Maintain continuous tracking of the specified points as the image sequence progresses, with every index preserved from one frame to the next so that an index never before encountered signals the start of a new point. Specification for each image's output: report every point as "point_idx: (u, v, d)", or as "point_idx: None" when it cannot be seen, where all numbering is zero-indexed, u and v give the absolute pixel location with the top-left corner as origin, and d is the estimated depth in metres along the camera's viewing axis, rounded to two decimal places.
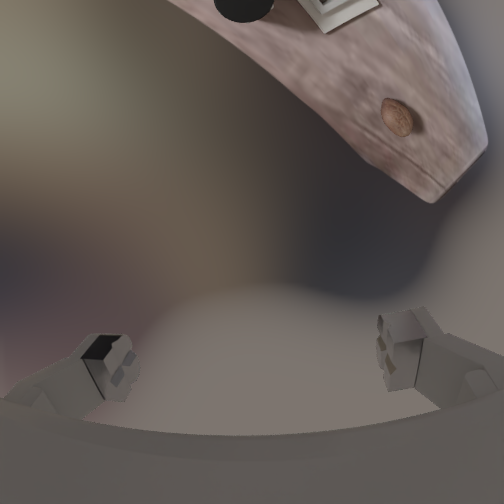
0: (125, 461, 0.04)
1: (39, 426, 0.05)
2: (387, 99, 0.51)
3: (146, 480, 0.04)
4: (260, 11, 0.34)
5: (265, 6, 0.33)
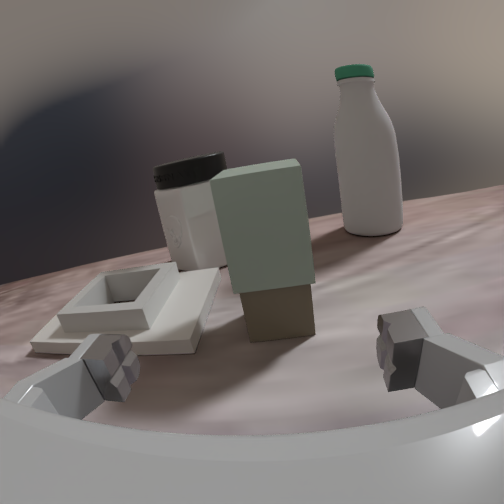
0: (125, 461, 0.04)
1: (38, 426, 0.05)
2: None
3: (146, 480, 0.04)
4: (161, 164, 0.34)
5: (159, 165, 0.33)
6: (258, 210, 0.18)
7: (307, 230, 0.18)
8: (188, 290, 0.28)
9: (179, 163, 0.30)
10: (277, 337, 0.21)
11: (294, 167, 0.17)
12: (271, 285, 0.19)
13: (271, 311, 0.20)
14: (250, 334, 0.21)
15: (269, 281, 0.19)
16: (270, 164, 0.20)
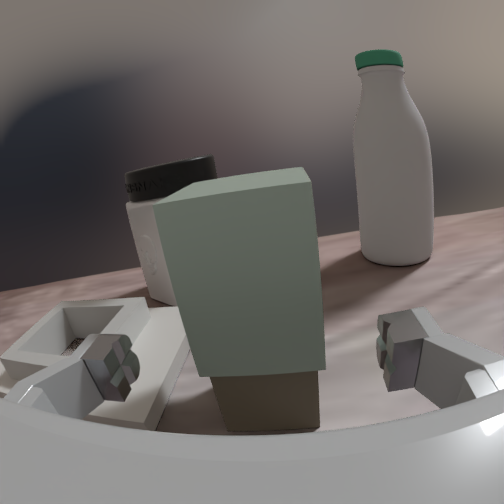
0: (125, 461, 0.04)
1: (39, 426, 0.05)
2: None
3: (146, 480, 0.04)
4: (135, 170, 0.27)
5: None
6: (235, 259, 0.10)
7: (318, 293, 0.10)
8: (156, 338, 0.20)
9: (153, 169, 0.23)
10: (265, 428, 0.13)
11: (300, 185, 0.09)
12: (256, 370, 0.12)
13: (256, 399, 0.13)
14: (227, 422, 0.13)
15: (253, 365, 0.12)
16: (262, 176, 0.12)
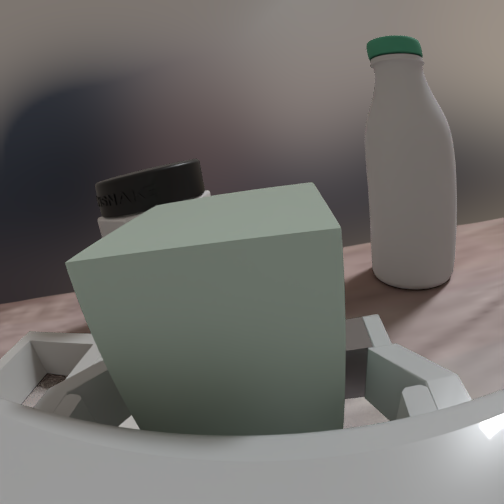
0: (125, 461, 0.04)
1: (38, 426, 0.05)
2: None
3: (146, 480, 0.04)
4: None
5: (105, 180, 0.22)
6: (202, 355, 0.06)
7: (338, 401, 0.06)
8: None
9: (124, 179, 0.19)
10: None
11: (319, 234, 0.05)
12: None
13: None
14: None
15: None
16: (251, 200, 0.08)
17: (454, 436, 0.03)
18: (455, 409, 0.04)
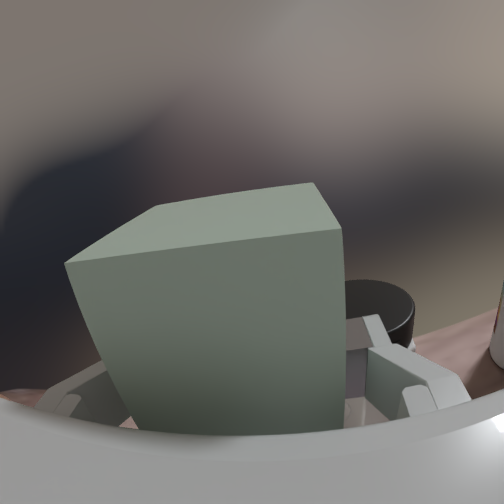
0: (125, 461, 0.04)
1: (39, 427, 0.05)
2: None
3: (146, 480, 0.04)
4: None
5: None
6: (201, 355, 0.06)
7: (339, 402, 0.06)
8: None
9: None
10: None
11: (319, 234, 0.05)
12: None
13: None
14: None
15: None
16: (251, 201, 0.08)
17: (454, 436, 0.03)
18: (455, 409, 0.04)
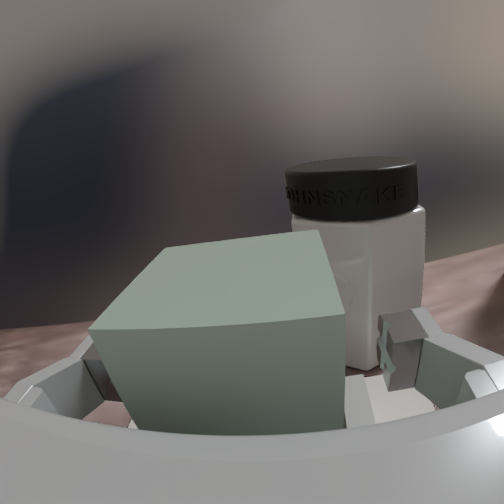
0: (125, 461, 0.04)
1: (38, 426, 0.05)
2: None
3: (146, 480, 0.04)
4: (299, 168, 0.18)
5: (303, 169, 0.17)
6: (218, 408, 0.06)
7: None
8: None
9: (370, 172, 0.14)
10: None
11: (325, 319, 0.05)
12: None
13: None
14: None
15: None
16: (260, 256, 0.08)
17: (454, 436, 0.03)
18: (455, 409, 0.04)
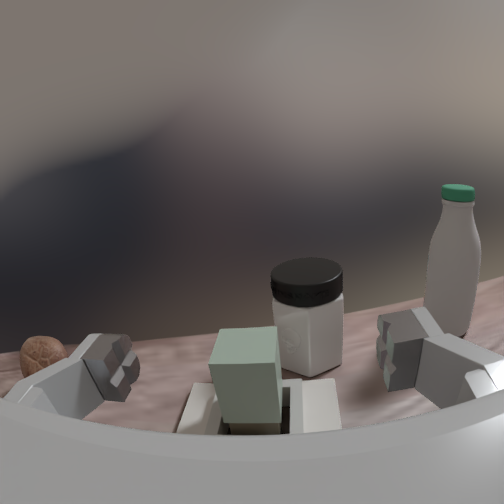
0: (125, 461, 0.04)
1: (38, 426, 0.05)
2: None
3: (146, 480, 0.04)
4: (278, 273, 0.36)
5: (279, 276, 0.35)
6: (243, 384, 0.23)
7: (277, 396, 0.24)
8: (318, 408, 0.29)
9: (310, 286, 0.32)
10: None
11: (270, 363, 0.22)
12: (250, 421, 0.25)
13: (249, 432, 0.26)
14: None
15: (249, 419, 0.25)
16: (255, 339, 0.26)
17: (454, 436, 0.03)
18: (455, 409, 0.04)
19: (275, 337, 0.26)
